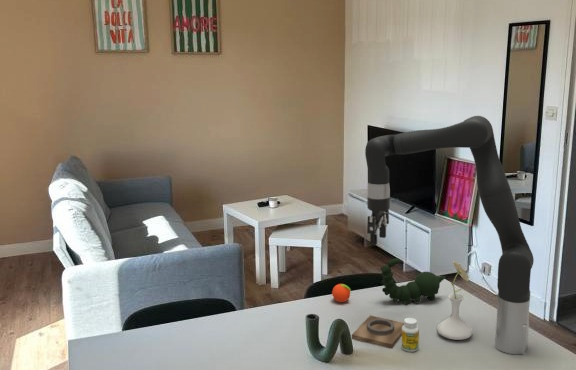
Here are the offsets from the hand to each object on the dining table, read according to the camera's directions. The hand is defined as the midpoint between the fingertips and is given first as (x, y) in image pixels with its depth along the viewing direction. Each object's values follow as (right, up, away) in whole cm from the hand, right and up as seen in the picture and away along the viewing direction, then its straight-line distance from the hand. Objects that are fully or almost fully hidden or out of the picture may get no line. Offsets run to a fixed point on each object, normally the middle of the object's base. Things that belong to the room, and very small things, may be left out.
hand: (378, 240), depth 195 cm
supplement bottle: (+8, -33, -14) cm, 37 cm away
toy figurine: (+17, -25, +20) cm, 36 cm away
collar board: (0, -31, -4) cm, 31 cm away
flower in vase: (+25, -31, -6) cm, 40 cm away
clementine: (-10, -26, +21) cm, 35 cm away
